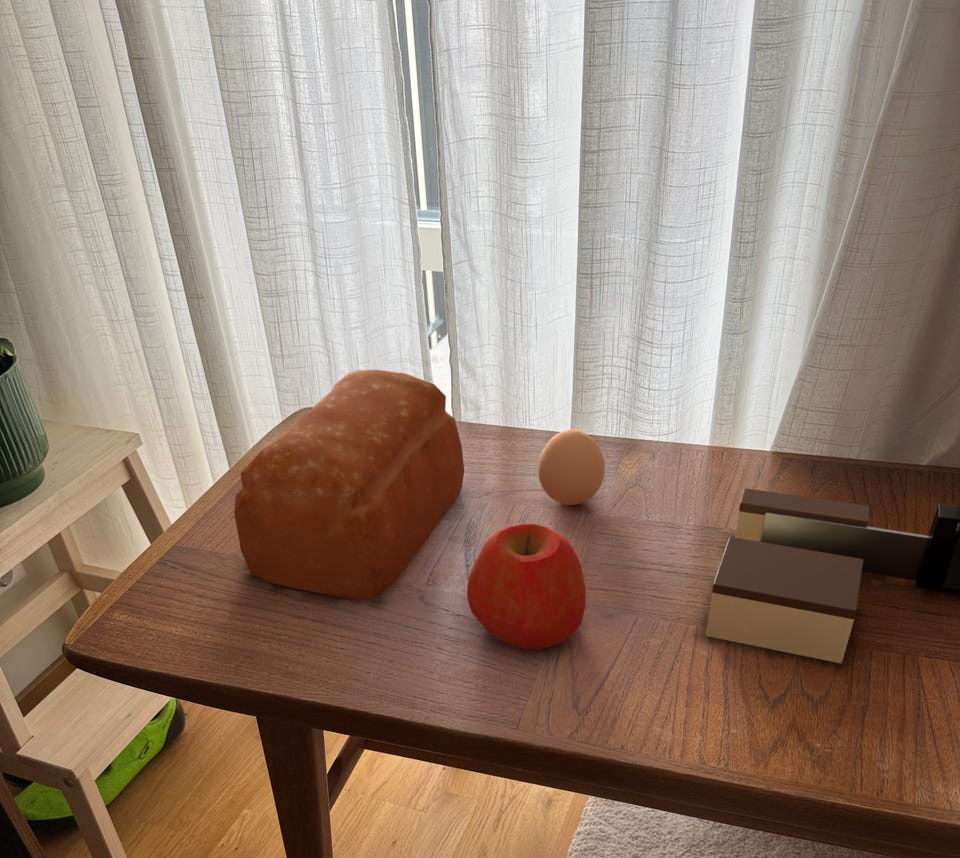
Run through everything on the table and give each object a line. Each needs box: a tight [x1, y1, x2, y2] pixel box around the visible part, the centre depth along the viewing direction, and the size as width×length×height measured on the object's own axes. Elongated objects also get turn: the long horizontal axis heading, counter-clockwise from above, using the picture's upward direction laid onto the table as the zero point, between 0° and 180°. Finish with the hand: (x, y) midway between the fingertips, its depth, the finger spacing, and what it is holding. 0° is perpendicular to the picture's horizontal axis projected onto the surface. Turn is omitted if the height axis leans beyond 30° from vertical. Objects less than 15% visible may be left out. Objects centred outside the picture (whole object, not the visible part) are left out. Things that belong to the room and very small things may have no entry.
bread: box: [233, 369, 465, 600], centre depth 96 cm, size 17×24×15 cm
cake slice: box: [734, 487, 870, 542], centre depth 92 cm, size 12×3×6 cm, turn 70°
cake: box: [705, 536, 863, 664], centre depth 84 cm, size 12×8×6 cm, turn 68°
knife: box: [760, 502, 960, 595], centre depth 88 cm, size 22×2×8 cm, turn 70°
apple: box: [466, 523, 587, 650], centre depth 84 cm, size 11×11×11 cm
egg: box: [537, 429, 606, 506], centre depth 101 cm, size 7×7×8 cm
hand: (958, 577), depth 88 cm, fingers closed on knife, 2 cm apart
